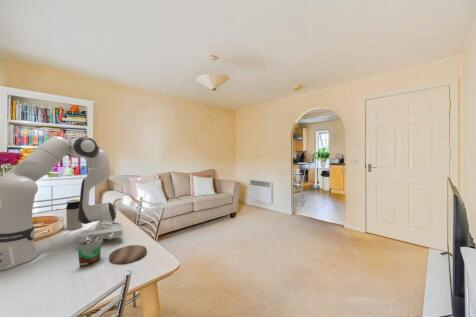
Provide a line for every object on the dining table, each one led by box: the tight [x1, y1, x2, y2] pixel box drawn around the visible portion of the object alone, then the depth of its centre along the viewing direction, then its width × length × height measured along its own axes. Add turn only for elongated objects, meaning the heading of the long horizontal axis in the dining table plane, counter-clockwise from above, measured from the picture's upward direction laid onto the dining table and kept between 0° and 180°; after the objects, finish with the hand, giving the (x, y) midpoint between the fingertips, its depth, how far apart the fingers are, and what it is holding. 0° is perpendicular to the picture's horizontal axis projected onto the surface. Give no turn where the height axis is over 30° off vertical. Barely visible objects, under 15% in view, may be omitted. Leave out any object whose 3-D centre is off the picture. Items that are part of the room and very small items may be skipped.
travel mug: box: [65, 198, 83, 231], centre depth 142 cm, size 8×8×18 cm
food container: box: [76, 235, 104, 268], centre depth 99 cm, size 12×6×10 cm, turn 179°
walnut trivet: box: [108, 244, 148, 265], centre depth 104 cm, size 16×16×2 cm
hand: (99, 239), depth 110 cm, fingers open, 8 cm apart
